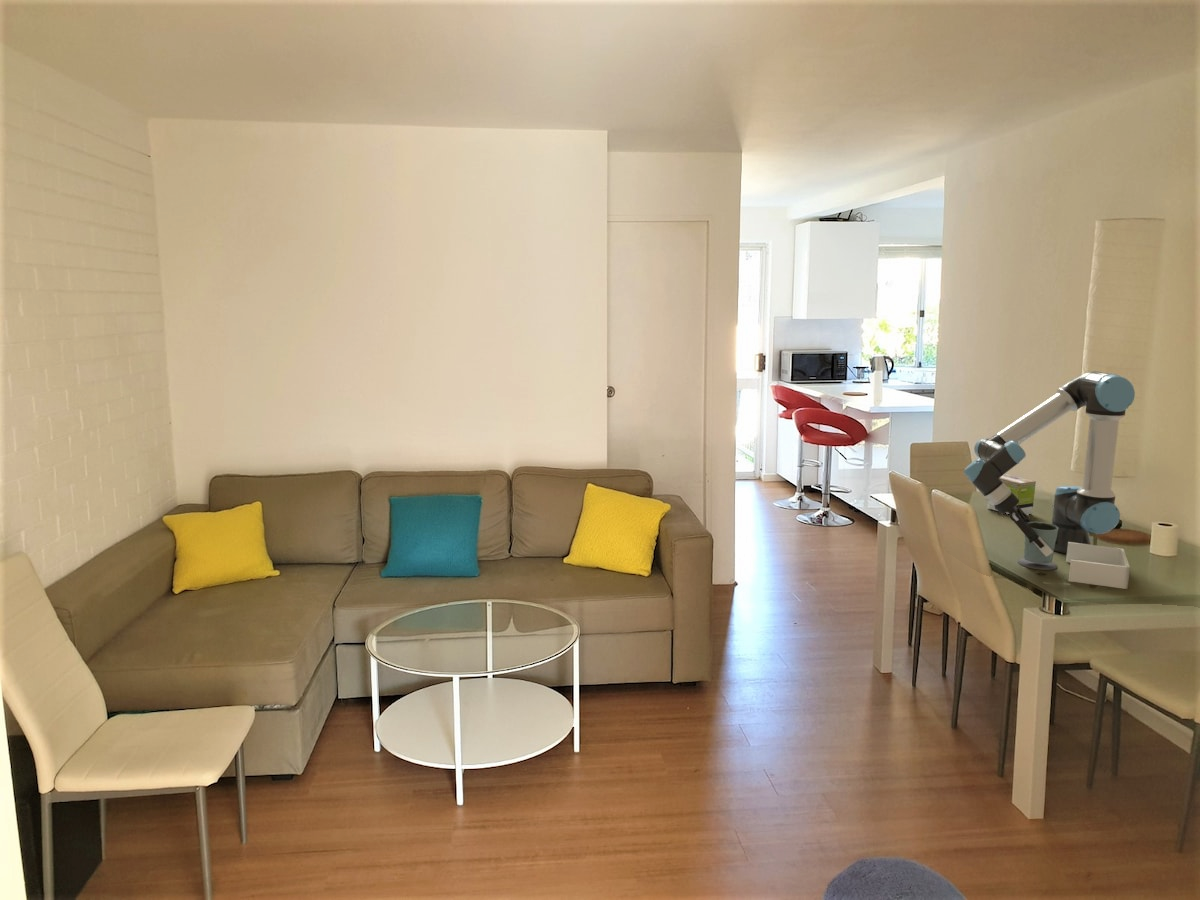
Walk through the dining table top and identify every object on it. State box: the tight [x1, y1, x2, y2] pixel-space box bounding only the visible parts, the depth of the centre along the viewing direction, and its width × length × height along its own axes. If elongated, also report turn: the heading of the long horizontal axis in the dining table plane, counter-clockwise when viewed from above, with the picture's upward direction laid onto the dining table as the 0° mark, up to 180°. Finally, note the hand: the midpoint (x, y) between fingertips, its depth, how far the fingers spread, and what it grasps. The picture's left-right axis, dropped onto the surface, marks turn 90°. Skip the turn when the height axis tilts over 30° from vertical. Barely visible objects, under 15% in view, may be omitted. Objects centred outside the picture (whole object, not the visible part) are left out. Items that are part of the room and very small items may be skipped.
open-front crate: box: [1065, 542, 1131, 590], centre depth 288 cm, size 23×16×7 cm
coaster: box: [1017, 557, 1058, 571], centre depth 299 cm, size 12×12×1 cm
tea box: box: [987, 473, 1037, 516], centre depth 367 cm, size 15×10×15 cm
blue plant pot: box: [1023, 521, 1058, 564], centre depth 295 cm, size 10×10×12 cm
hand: (1049, 550), depth 294 cm, fingers closed on blue plant pot, 10 cm apart
